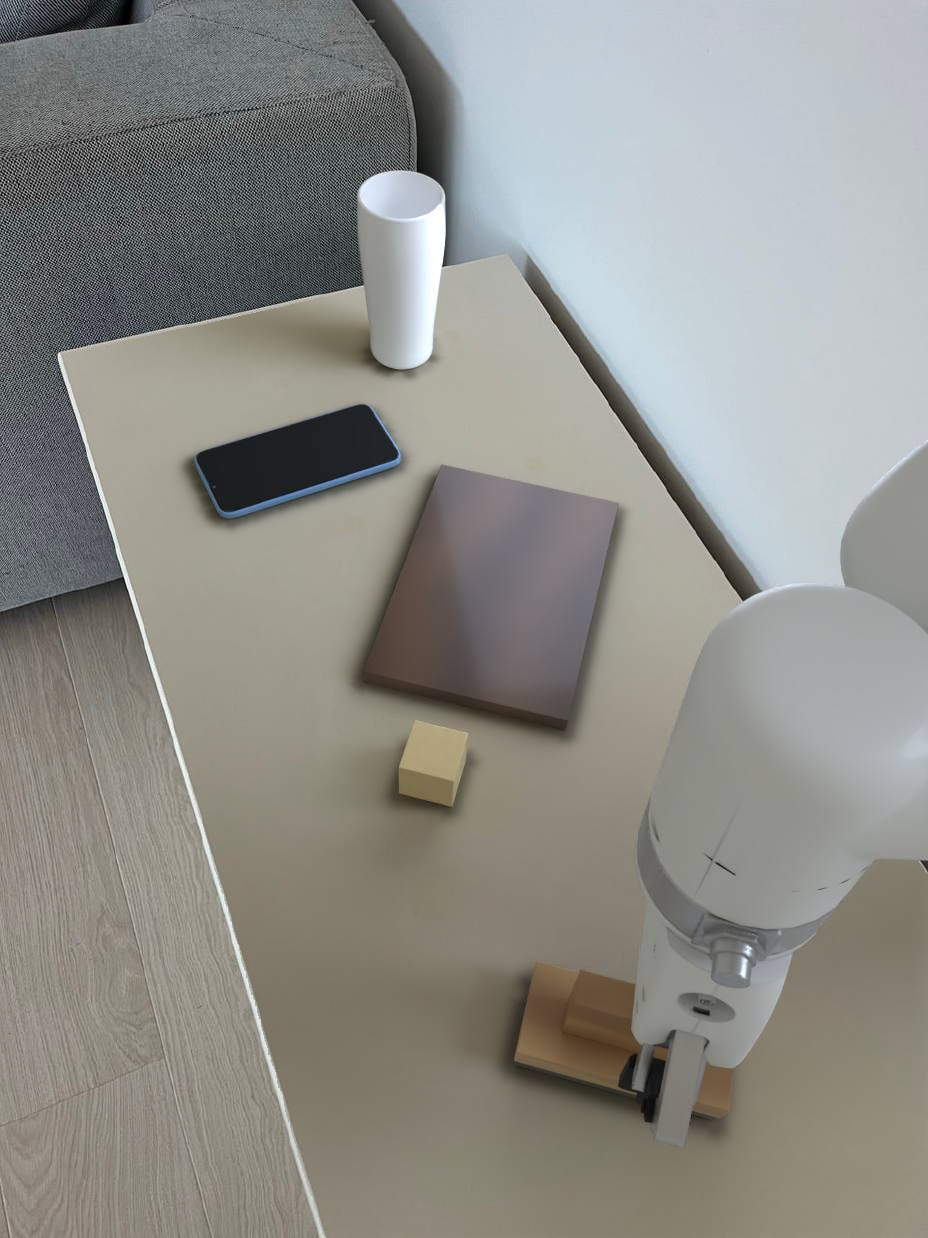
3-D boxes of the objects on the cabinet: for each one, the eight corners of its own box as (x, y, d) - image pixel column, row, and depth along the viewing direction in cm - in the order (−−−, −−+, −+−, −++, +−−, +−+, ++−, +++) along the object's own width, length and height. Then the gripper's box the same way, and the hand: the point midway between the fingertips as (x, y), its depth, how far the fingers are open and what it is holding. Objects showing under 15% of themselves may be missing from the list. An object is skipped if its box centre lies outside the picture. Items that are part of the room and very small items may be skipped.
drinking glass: (425, 319, 95) (428, 162, 83) (452, 368, 92) (459, 211, 80) (352, 335, 94) (344, 176, 82) (376, 385, 90) (372, 227, 78)
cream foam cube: (466, 760, 70) (468, 732, 67) (452, 807, 68) (454, 781, 65) (414, 747, 70) (414, 719, 67) (398, 793, 68) (398, 767, 65)
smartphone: (405, 457, 84) (221, 517, 80) (405, 465, 85) (222, 524, 80) (367, 397, 88) (189, 450, 83) (367, 405, 89) (191, 458, 84)
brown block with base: (531, 977, 62) (545, 928, 55) (726, 1030, 60) (764, 985, 54) (511, 1066, 59) (524, 1025, 52) (716, 1124, 57) (755, 1088, 51)
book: (616, 513, 83) (619, 502, 82) (566, 730, 71) (568, 721, 70) (440, 474, 84) (441, 464, 83) (363, 681, 73) (363, 671, 72)
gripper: (833, 1122, 34) (722, 1200, 48) (854, 678, 44) (756, 849, 58) (601, 1060, 35) (557, 1154, 49) (672, 640, 45) (619, 817, 59)
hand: (665, 989), depth 54 cm, fingers open, 9 cm apart
